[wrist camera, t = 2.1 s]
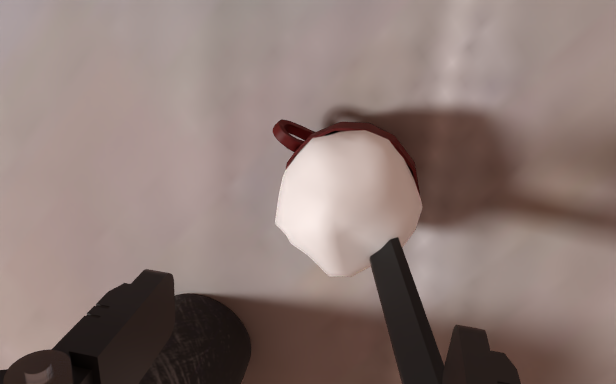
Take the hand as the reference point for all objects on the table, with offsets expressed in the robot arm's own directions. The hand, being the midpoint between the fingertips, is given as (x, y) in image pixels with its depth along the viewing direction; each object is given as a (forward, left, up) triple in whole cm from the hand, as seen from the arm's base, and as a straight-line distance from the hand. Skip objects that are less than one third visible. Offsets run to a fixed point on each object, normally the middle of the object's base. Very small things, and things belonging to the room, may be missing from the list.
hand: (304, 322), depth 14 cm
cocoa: (0, 0, -13) cm, 13 cm away
